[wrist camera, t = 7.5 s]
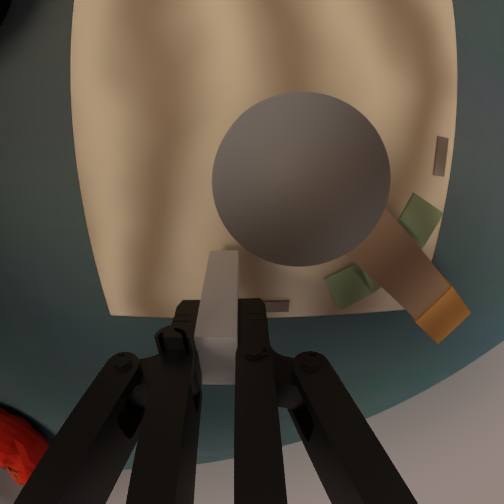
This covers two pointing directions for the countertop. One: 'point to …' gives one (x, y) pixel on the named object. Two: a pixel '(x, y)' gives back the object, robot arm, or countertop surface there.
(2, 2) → the mug
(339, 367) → the countertop surface
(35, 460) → the tomato
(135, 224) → the dial board
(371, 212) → the peg lever
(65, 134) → the countertop surface
